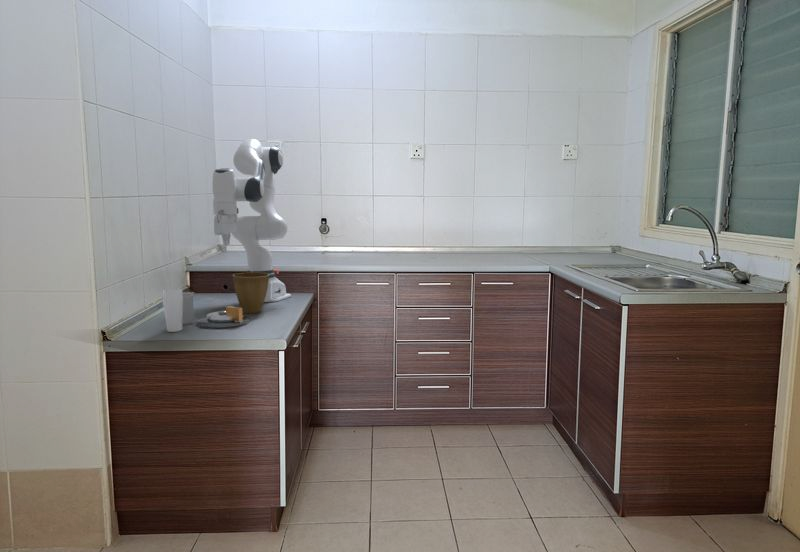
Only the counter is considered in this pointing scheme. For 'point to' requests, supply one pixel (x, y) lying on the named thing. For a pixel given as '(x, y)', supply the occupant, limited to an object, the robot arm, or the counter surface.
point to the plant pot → (251, 290)
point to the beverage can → (187, 309)
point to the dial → (226, 315)
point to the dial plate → (212, 325)
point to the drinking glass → (173, 309)
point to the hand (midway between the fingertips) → (226, 244)
